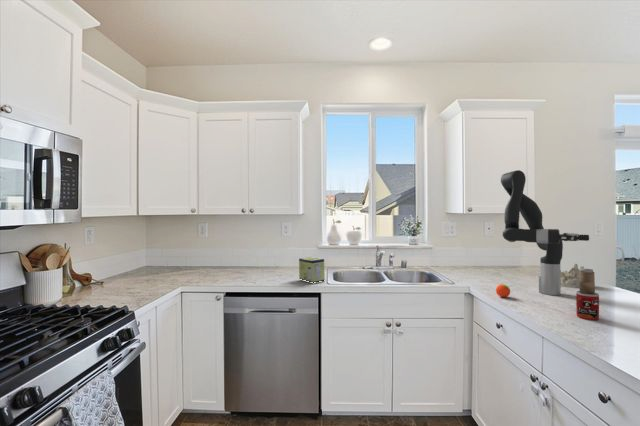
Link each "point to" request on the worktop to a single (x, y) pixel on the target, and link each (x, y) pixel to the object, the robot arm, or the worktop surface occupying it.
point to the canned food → (587, 306)
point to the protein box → (311, 269)
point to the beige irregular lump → (571, 277)
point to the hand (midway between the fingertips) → (589, 237)
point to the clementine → (503, 290)
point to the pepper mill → (586, 281)
